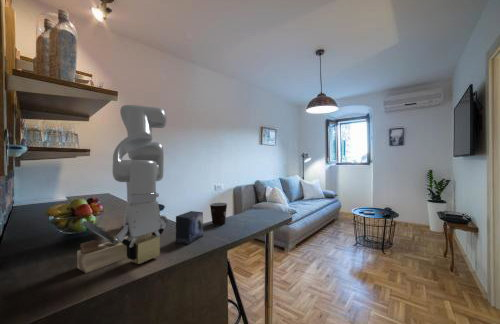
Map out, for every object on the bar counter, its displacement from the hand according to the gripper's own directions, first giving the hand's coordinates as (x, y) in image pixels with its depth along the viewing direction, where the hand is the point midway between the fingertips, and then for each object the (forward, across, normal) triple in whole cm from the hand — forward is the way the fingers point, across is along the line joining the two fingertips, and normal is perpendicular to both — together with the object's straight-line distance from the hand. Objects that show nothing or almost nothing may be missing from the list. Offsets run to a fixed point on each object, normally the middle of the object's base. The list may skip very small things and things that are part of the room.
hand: (143, 253), depth 68 cm
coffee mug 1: (+2, -16, -21) cm, 26 cm away
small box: (+2, -21, -2) cm, 21 cm away
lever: (-4, +5, -10) cm, 12 cm away
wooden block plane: (+2, +2, -10) cm, 10 cm away
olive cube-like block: (+1, 0, 0) cm, 1 cm away
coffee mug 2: (+2, -43, -7) cm, 44 cm away
